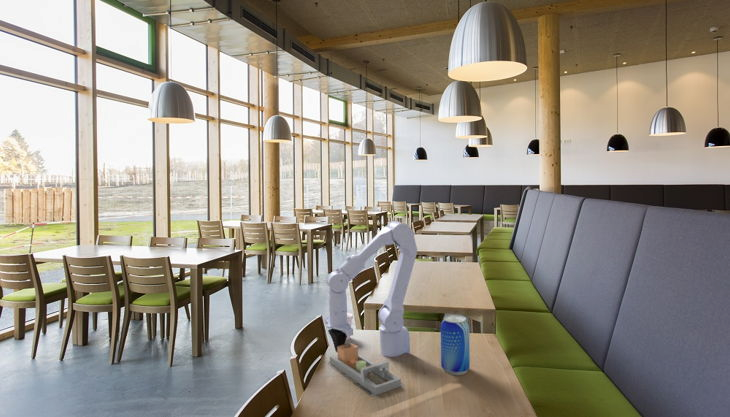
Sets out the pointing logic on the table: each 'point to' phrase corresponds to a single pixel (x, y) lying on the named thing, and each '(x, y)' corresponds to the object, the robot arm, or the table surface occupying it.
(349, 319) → the smoothie
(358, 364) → the pale green cube
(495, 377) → the table surface
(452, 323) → the beer can
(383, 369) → the gate
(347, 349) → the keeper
